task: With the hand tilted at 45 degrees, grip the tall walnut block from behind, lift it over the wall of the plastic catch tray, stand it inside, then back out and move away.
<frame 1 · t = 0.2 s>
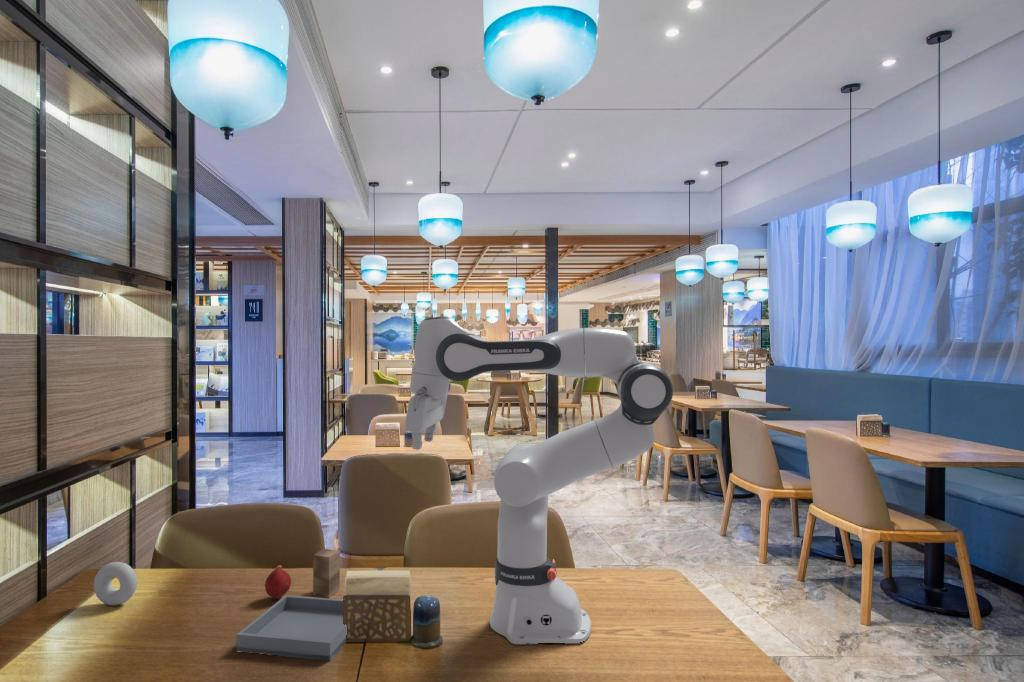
hand: (422, 444, 128), 39 cm above the table, tool pointing down, fingers open, 8 cm apart
catch tray: (305, 633, 118), on the table
onion: (277, 599, 134), on the table
donut: (115, 605, 130), on the table
walnut block: (326, 593, 138), on the table
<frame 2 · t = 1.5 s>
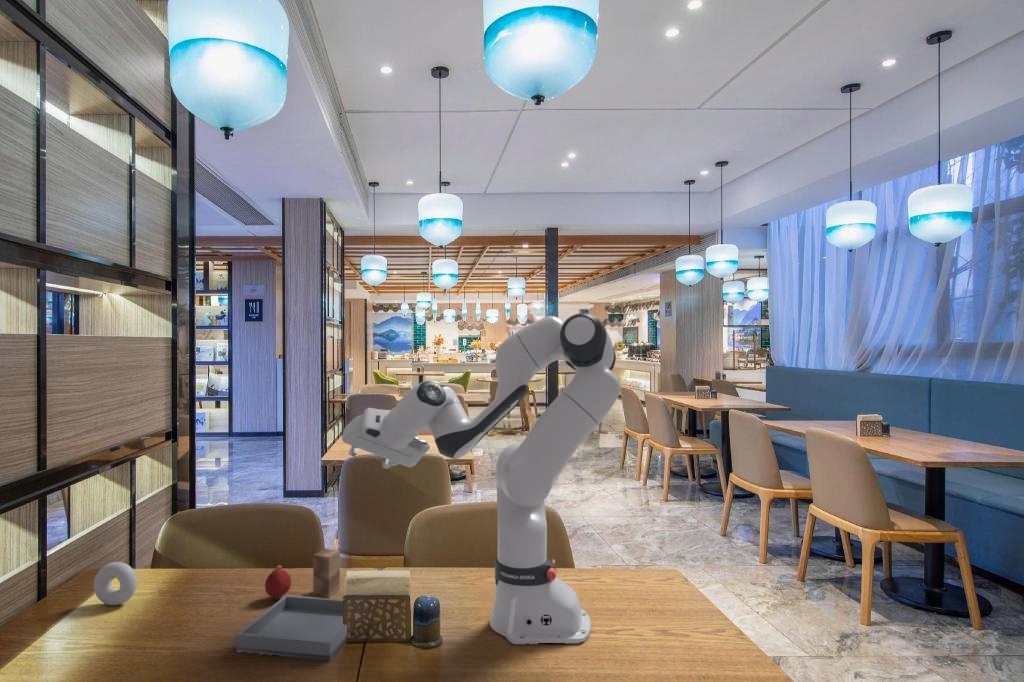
hand: (368, 460, 140), 33 cm above the table, tool tilted 50°, fingers open, 8 cm apart
nothing on the table moved.
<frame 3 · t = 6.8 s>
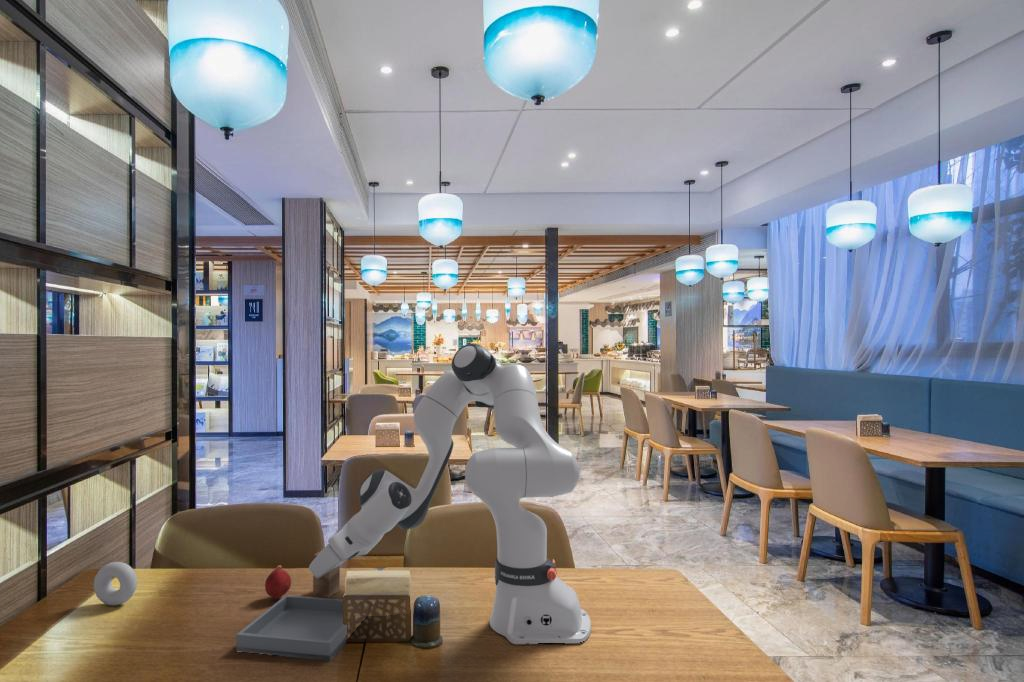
hand: (324, 571, 138), 5 cm above the table, tool tilted 45°, fingers closed on walnut block, 4 cm apart
walnut block: (326, 593, 138), on the table, touching gripper
everything else where it was.
when the fingers open (8 cm above the table, at t = 13.8 s): walnut block drops 2 cm, resting on catch tray.
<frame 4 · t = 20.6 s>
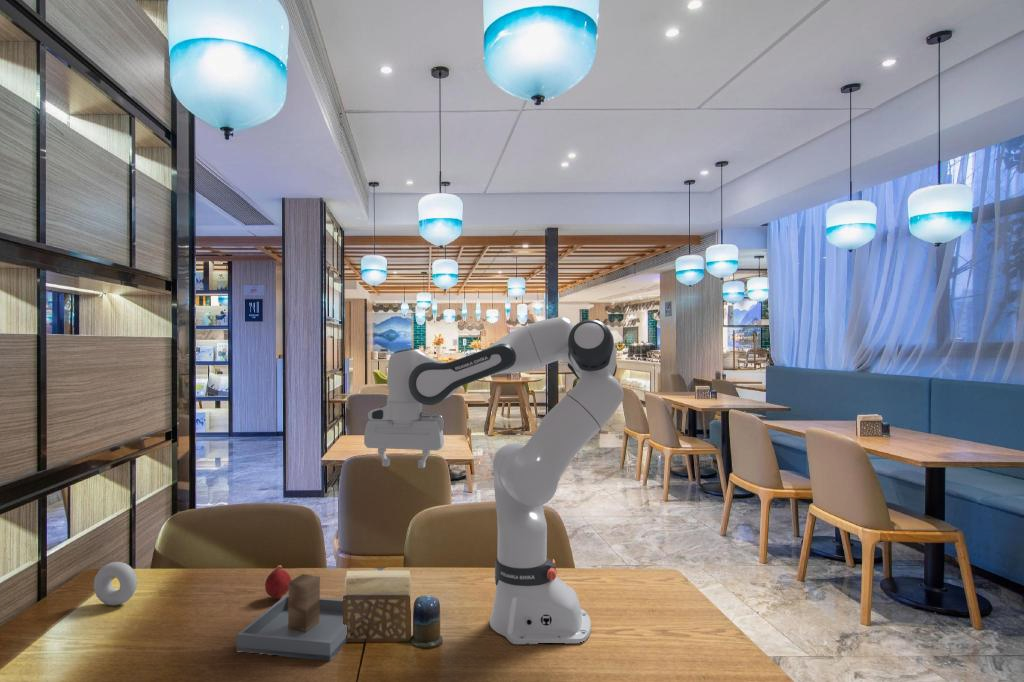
hand: (403, 466, 140), 31 cm above the table, tool pointing down, fingers open, 8 cm apart
walnut block: (303, 625, 119), point 1 cm above the table, touching catch tray
everything else where it was.
at the end: walnut block inside the target area on the catch tray (1.4 cm from its centre), point 1.0 cm above the catch tray's base; the gripper is holding nothing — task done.
